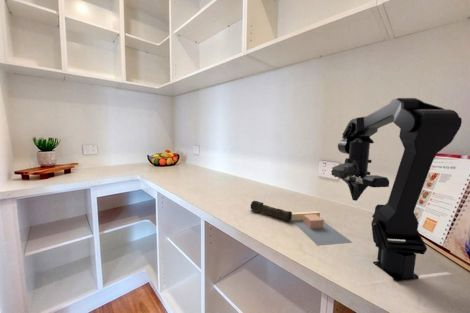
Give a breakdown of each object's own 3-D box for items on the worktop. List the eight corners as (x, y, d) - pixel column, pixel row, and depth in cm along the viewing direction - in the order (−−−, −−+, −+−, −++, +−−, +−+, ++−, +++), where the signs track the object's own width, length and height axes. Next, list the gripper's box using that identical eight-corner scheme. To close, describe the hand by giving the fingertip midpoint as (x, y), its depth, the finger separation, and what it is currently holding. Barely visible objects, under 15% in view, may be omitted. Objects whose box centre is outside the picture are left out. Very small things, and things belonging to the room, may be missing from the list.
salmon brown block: (323, 227, 69) (323, 219, 68) (310, 228, 68) (310, 220, 68) (315, 221, 74) (315, 214, 73) (303, 222, 73) (303, 214, 72)
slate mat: (352, 243, 60) (353, 234, 59) (317, 246, 58) (317, 237, 57) (317, 218, 78) (317, 211, 77) (289, 220, 76) (290, 212, 75)
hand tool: (292, 220, 75) (293, 208, 75) (287, 223, 72) (288, 211, 72) (254, 208, 88) (254, 198, 88) (249, 210, 85) (249, 200, 85)
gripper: (320, 153, 73) (317, 193, 75) (361, 160, 55) (356, 212, 56) (345, 153, 75) (342, 192, 77) (393, 159, 57) (387, 210, 58)
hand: (354, 200), depth 67 cm, fingers closed
